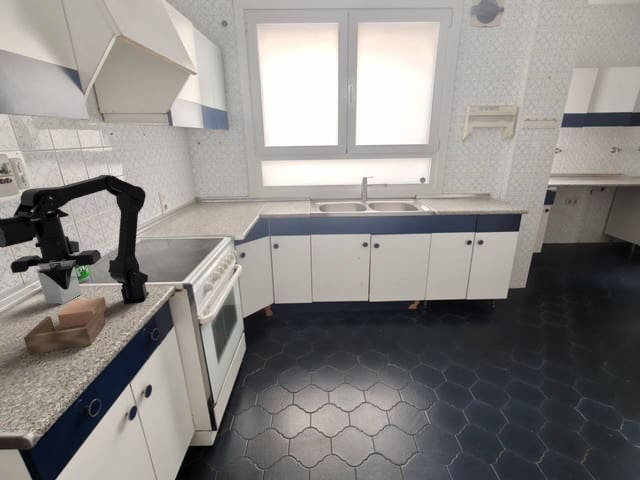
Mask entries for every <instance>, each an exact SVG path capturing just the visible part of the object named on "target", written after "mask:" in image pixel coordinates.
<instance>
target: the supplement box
mask: <svg viewBox="0 0 640 480" xmlns="http://www.w3.org/2000/svg"><path fill="white" fill-rule="evenodd" d="M39 271H40V267H39V268H37V269H36V272H37V273H36V274H37V277H38V280H39V283H40V285H41V286H40V287H41V289H42V291H43V292H42V293H43V295H44V298H45V302H46V303H50V304H56V303H60V304H59V305H64V304H66V303H67V302H69V300H70V301H71V299H72V300H73V298H74V299H76V298H78V297H80V296H82V295H83V293H82V288H81V285H80V283H79V281H78V278H77V274H76V270H75V267H74V268H73V270H72V273H71V278H70V284H69V288H68V289H66V290H64V289H62V288H61V287H60V286H59V285H58V284H57V283H56V282H55V281H53V280H52V279H51V278H49V277H48V276H46V275H45V274H44V273H39ZM81 294H82V295H81ZM79 295H80V296H79ZM77 296H78V297H77ZM75 297H76V298H75Z"/></svg>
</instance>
